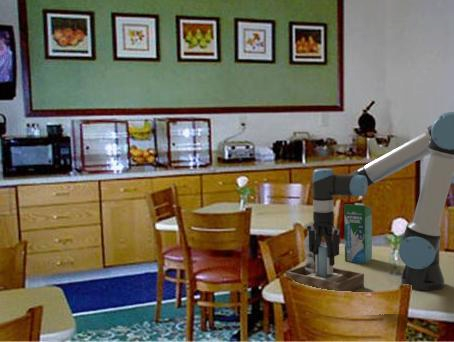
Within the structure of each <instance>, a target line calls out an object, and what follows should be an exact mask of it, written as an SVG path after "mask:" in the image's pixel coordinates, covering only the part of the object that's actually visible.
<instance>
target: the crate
mask: <svg viewBox="0 0 454 342" xmlns="http://www.w3.org/2000/svg"><path fill="white" fill-rule="evenodd" d="M305 265H306V264H304V265H302V266H299V267H296V268H292V269H289V270H287V271H285V277H286V276H288V277H290V278H292V279H293V280H294V281H295V282H298V283H300V284H304V285H308V286H312V287H316V288H321V289H327V290H335V291H353V292H355V291H358V290H361V289H362V288H365V273H362V272H357V271H351V270H346V269H341V268H337V267H333V273H332V274H330V277H328V278H322V277H319V272H315V273H312V274H309V275H305V273H304V271H305Z"/></svg>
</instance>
